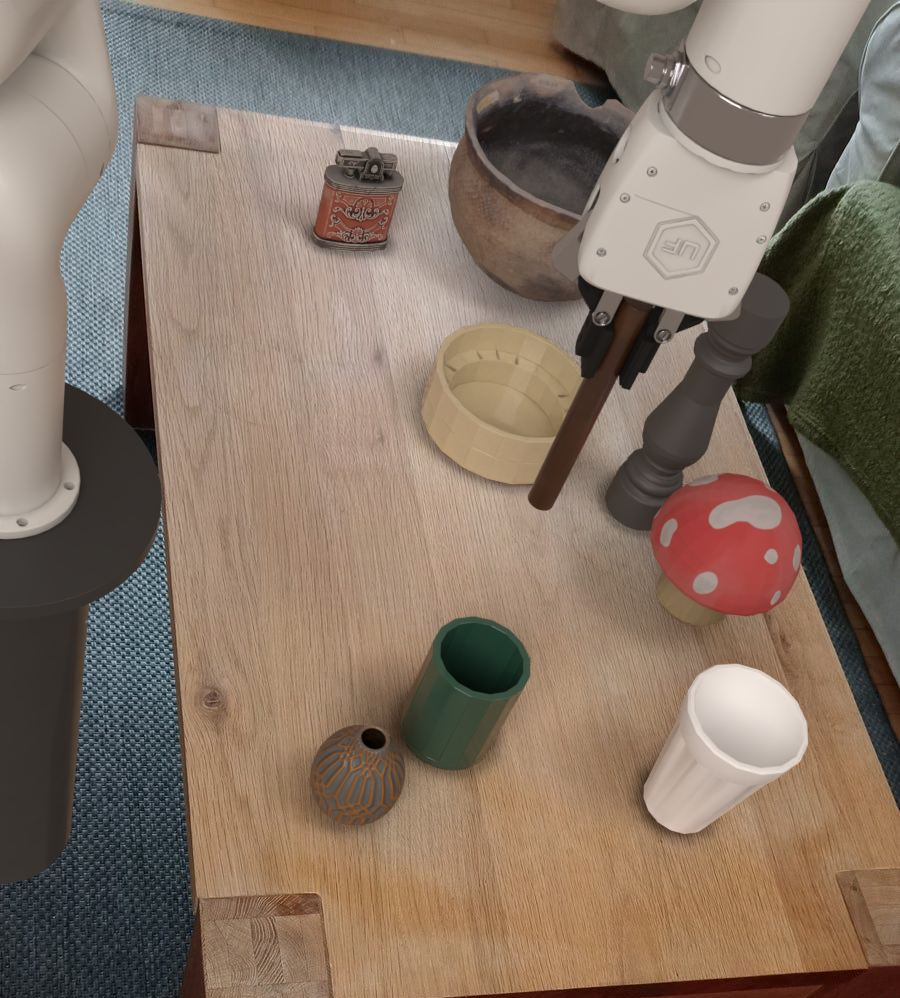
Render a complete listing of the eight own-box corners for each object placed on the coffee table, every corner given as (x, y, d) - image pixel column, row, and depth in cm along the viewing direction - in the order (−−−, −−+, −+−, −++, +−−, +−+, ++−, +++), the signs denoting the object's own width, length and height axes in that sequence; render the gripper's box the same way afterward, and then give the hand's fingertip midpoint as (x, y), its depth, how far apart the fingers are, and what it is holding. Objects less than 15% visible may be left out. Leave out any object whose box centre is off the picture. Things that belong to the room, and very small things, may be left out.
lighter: (381, 231, 135) (405, 143, 127) (390, 253, 134) (415, 166, 126) (306, 227, 132) (326, 137, 124) (315, 250, 131) (335, 160, 123)
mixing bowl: (416, 467, 120) (434, 419, 115) (422, 355, 128) (439, 306, 123) (572, 503, 123) (596, 458, 118) (569, 392, 131) (591, 346, 126)
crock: (397, 761, 103) (431, 689, 94) (402, 683, 107) (435, 607, 98) (489, 777, 104) (530, 708, 96) (490, 700, 108) (530, 627, 100)
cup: (690, 879, 105) (768, 798, 94) (597, 796, 106) (663, 707, 96) (752, 809, 110) (832, 725, 100) (662, 731, 112) (732, 640, 101)
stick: (527, 507, 94) (623, 306, 80) (527, 487, 95) (623, 285, 81) (553, 513, 95) (654, 314, 80) (553, 493, 96) (653, 293, 81)
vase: (284, 803, 98) (306, 740, 91) (335, 745, 102) (360, 680, 95) (359, 856, 97) (388, 797, 90) (408, 795, 101) (438, 734, 94)
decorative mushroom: (641, 675, 114) (718, 565, 102) (594, 556, 120) (661, 438, 108) (769, 667, 119) (857, 561, 107) (718, 553, 125) (796, 439, 113)
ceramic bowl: (650, 275, 145) (710, 153, 133) (574, 375, 133) (633, 250, 120) (480, 174, 145) (524, 42, 133) (388, 263, 133) (427, 128, 121)
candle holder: (677, 515, 126) (807, 306, 106) (637, 540, 123) (764, 330, 102) (632, 473, 127) (752, 258, 107) (592, 496, 124) (708, 280, 104)
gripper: (595, 99, 66) (486, 377, 81) (875, 189, 69) (720, 440, 85) (594, 20, 70) (489, 299, 85) (858, 109, 73) (713, 362, 89)
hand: (605, 367), depth 85 cm, fingers closed on stick, 2 cm apart
